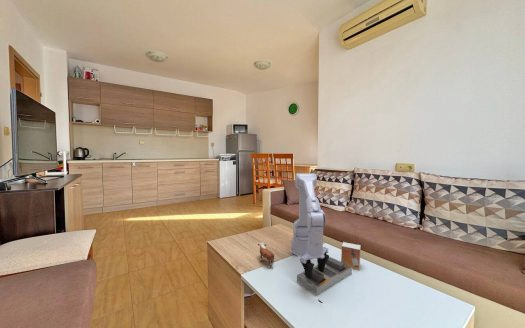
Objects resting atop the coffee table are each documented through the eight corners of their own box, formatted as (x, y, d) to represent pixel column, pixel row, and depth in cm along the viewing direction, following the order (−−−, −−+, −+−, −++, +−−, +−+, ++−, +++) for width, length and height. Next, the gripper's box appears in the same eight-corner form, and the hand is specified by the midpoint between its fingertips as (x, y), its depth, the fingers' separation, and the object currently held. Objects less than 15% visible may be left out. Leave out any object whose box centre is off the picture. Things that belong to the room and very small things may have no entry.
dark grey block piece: (305, 280, 87) (305, 268, 86) (309, 278, 89) (310, 266, 88) (318, 289, 81) (319, 277, 81) (323, 286, 83) (323, 274, 83)
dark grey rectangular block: (326, 269, 95) (326, 259, 95) (330, 267, 97) (330, 257, 97) (340, 277, 89) (340, 265, 89) (343, 274, 91) (344, 263, 91)
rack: (296, 284, 86) (296, 274, 86) (331, 265, 100) (332, 257, 100) (316, 297, 78) (316, 287, 78) (351, 275, 92) (351, 266, 92)
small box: (340, 267, 98) (341, 245, 98) (342, 262, 103) (342, 241, 103) (359, 272, 95) (360, 249, 94) (360, 266, 100) (360, 244, 99)
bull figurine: (263, 255, 110) (263, 240, 109) (276, 268, 97) (276, 251, 97) (255, 257, 108) (256, 241, 107) (267, 270, 96) (267, 253, 95)
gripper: (311, 250, 76) (310, 286, 77) (334, 240, 85) (334, 273, 86) (297, 243, 82) (296, 277, 83) (320, 235, 91) (319, 265, 91)
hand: (314, 274), depth 85 cm, fingers open, 7 cm apart
